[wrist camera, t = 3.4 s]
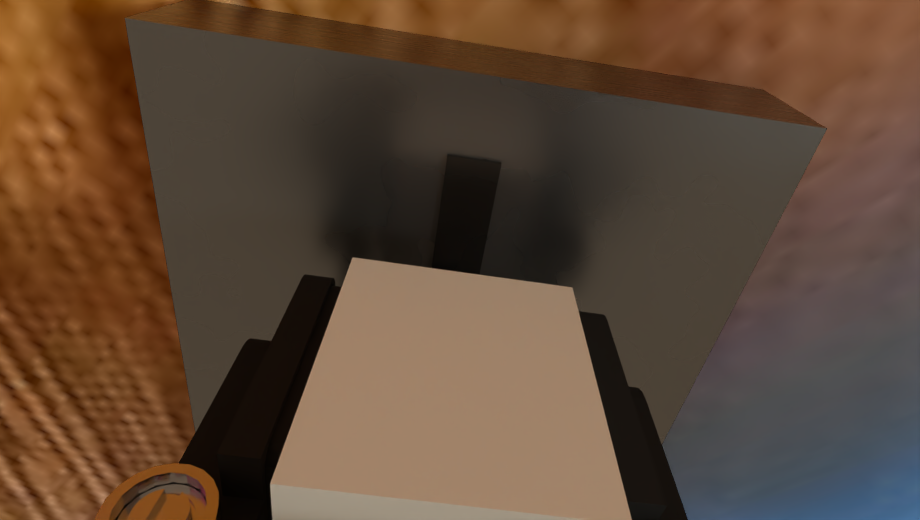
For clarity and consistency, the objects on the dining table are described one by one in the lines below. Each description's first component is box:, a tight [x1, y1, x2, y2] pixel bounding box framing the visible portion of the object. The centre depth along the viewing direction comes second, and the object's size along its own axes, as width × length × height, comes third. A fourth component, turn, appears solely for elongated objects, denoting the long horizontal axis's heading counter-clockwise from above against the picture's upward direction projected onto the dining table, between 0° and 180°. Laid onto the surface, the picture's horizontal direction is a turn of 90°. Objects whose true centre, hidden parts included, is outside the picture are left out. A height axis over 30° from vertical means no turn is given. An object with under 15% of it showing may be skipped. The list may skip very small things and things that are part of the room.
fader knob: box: [270, 257, 632, 520], centre depth 9 cm, size 5×4×6 cm
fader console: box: [125, 0, 827, 444], centre depth 18 cm, size 28×12×3 cm, turn 172°
